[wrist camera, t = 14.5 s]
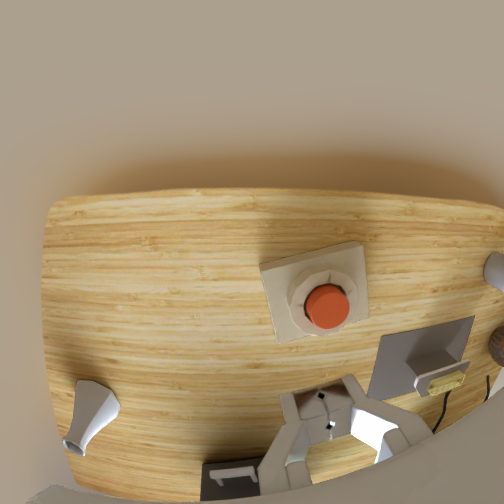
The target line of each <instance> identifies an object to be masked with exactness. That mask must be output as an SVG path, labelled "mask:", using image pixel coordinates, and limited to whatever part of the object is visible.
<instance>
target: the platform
mask: <svg viewBox="0 0 504 504" xmlns="http://www.w3.org/2000/svg"><path fill="white" fill-rule="evenodd" d="M474 318H475V315H474V316H470V317H467V318H463V319H459V320H456V321H452V322H448V323H444V324H439V325H435V326H431V327H427V328H422V329H417V330H413V331H408V332H403V333H398V334H392V335H387V336H381V340H380V345H379V349H378V354H377V358H376V362H375V366H374V370H373V374H372V378H371V382H370V385H369V389H368V393H367V397H368V399H369V398H375V399H377V400H380V401H382V400H386V399H390V398H394V397H397V396H401V395H404V394H407V393H411V392H414V391H417V392H418V393H419V395H420V396H421V397H424V396H427V395H430V394H431V396H432V395H433V396H432V397H435V396H437V395H440V394H442V393H445V392H447V391H450V390H452V389H455V388H457V387H459V386H462V384H463V381H464V379H465V377H466V375H464V373H465V371H466V370H467V368H468V366H469V364H470V361H469V360H468V359H466V360H463V361H460V360H461V358H462V355H463V352H464V349H465V346H466V343H467V340H468V337H469V334H470V331H471V328H472V325H473V321H474ZM463 378H464V379H463ZM452 386H453V387H452ZM450 388H451V389H450ZM447 389H448V390H447ZM440 390H441V391H440ZM444 390H445V391H444ZM435 392H436V393H435ZM434 394H435V395H434Z"/></svg>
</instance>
